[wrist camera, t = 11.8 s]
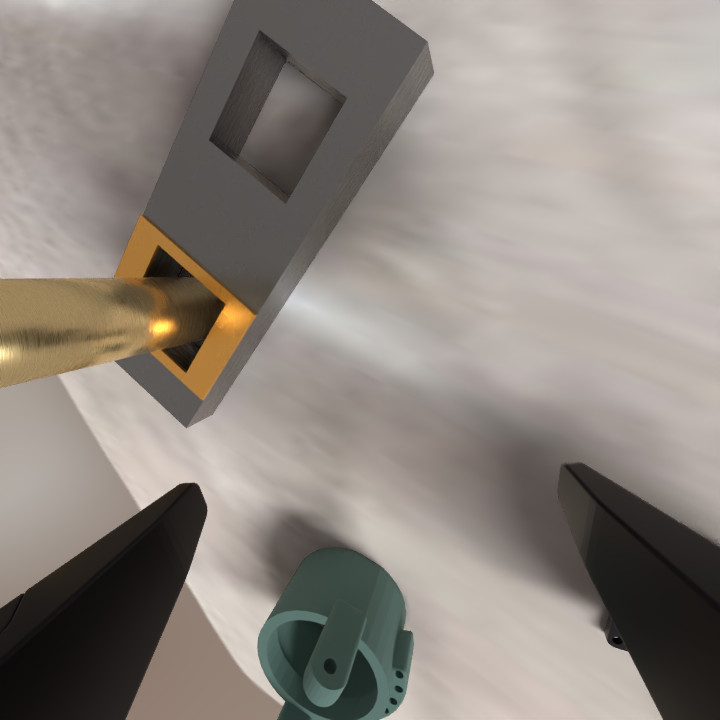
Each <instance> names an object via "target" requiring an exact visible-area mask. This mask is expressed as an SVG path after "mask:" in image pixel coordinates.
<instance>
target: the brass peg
mask: <svg viewBox="0 0 720 720" xmlns="http://www.w3.org/2000/svg"><path fill="white" fill-rule="evenodd" d="M225 305H226V304H225V303H224V302H223V301H221V300H220V299H219V298H218V297H217V296H216V295H215V294H213V293H212V292H211V291H210V290H209V289H208V288H207V287H206V286H204V285H203V284H202V283H201V282H200V281H199V280H198V279H196V278H195V277H149V278H45V279H0V388H2V387H7V386H11V385H15V384H19V383H23V382H27V381H31V380H35V379H40V378H44V377H48V376H53V375H57V374H61V373H65V372H69V371H74V370H78V369H82V368H86V367H90V366H95V365H99V364H103V363H107V362H111V361H116V360H120V359H124V358H128V357H132V356H137V355H141V354H145V353H149V352H153V351H157V350H162V349H166V348H170V347H174V346H178V345H183V344H187V343H191V342H195V341H199V340H204V339H206V338H207V336H208V334H209V332H210V331H211V329H212V327H213V326H214V324H215V322H216V320H217V319H218V317H219V315H220V313H221V312H222V310H223V308H224V306H225Z"/></svg>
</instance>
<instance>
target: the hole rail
mask: <svg viewBox="0 0 720 720" xmlns="http://www.w3.org/2000/svg"><path fill="white" fill-rule="evenodd" d="M286 60H287V61H288V62H289V63H291V64H292V65H293V66H295V67H296V68H297V69H298V70H300V71H301V72H302V73H304V74H305V75H306V76H307V77H309V78H310V79H311V80H313V81H314V82H315V83H316V84H318V85H319V86H320V87H321V88H323V89H324V90H325V91H327V92H328V93H329V94H330V95H332V96H333V97H334V98H336V99H337V100H338V101H339V102H341V103H342V104H343V106H342V108H341V110H340V111H339V113H338V115H337V117H336V118H335V120H334V122H333V124H332V125H331V127H330V129H329V130H328V132H327V134H326V136H325V137H324V139H323V141H322V143H321V144H320V146H319V148H318V149H317V151H316V153H315V155H314V156H313V158H312V160H311V162H310V163H309V165H308V167H307V168H306V170H305V172H304V174H303V175H302V177H301V179H300V181H299V182H298V184H297V186H296V187H295V189H294V191H293V193H292V194H291V196H290V197H288V196H287V195H286V194H285V193H283V192H282V191H281V190H280V189H279V188H277V187H276V186H275V185H274V184H273V183H271V182H270V181H269V180H268V179H267V178H265V177H264V176H263V175H262V174H260V173H259V172H258V171H257V170H256V169H254V168H253V167H252V166H251V165H250V164H248V163H247V162H246V161H245V160H244V159H242V158H241V157H240V156H239V153H240V151H241V149H242V147H243V145H244V143H245V141H246V139H247V137H248V135H249V133H250V131H251V129H252V127H253V125H254V123H255V121H256V119H257V117H258V115H259V113H260V111H261V109H262V107H263V105H264V103H265V101H266V99H267V97H268V95H269V93H270V91H271V89H272V87H273V85H274V83H275V81H276V79H277V77H278V75H279V73H280V71H281V69H282V67H283V65H284V63H285V61H286ZM433 74H434V70H433V66H432V61H431V56H430V51H429V46H428V42H427V41H426V40H425V39H423V38H422V37H421V36H419V35H418V34H417V33H415V32H414V31H412V30H411V29H410V28H408V27H407V26H406V25H404V24H403V23H402V22H400V21H399V20H398V19H396V18H395V17H393V16H392V15H391V14H389V13H388V12H387V11H385V10H384V9H383V8H381V7H380V6H379V5H377V4H376V3H375V2H373V1H372V0H234V3H233V5H232V7H231V10H230V12H229V15H228V17H227V19H226V22H225V24H224V26H223V29H222V31H221V33H220V36H219V38H218V40H217V43H216V45H215V48H214V50H213V52H212V55H211V57H210V59H209V62H208V64H207V66H206V69H205V71H204V73H203V76H202V78H201V80H200V83H199V85H198V88H197V90H196V92H195V95H194V97H193V99H192V102H191V104H190V106H189V109H188V111H187V113H186V116H185V118H184V121H183V123H182V125H181V128H180V130H179V132H178V135H177V137H176V139H175V142H174V144H173V146H172V149H171V151H170V153H169V156H168V158H167V161H166V163H165V165H164V168H163V170H162V172H161V175H160V177H159V179H158V182H157V184H156V186H155V189H154V191H153V193H152V196H151V198H150V201H149V203H148V205H147V208H146V210H145V212H144V215H140V217H139V219H138V221H137V224H136V226H135V228H134V231H133V233H132V236H131V238H130V240H129V243H128V245H127V247H126V250H125V252H124V255H123V257H122V259H121V262H120V264H119V266H118V269H117V271H116V274H115V276H114V278H149V277H178V275H179V273H180V271H181V269H182V267H184V268H185V269H186V270H187V271H188V272H190V273H191V274H192V275H193V276H194V277H195V278H196V279H198V280H199V281H200V282H201V283H202V284H203V285H204V286H206V287H207V288H208V289H209V290H210V291H211V292H212V293H213V294H215V295H216V296H217V297H218V298H219V299H220V300H221V301H223V302H224V303H225V304H226V305H225V306H224V308H223V310H222V312H221V313H220V315H219V317H218V319H217V320H216V322H215V324H214V326H213V327H212V329H211V331H210V332H209V334H208V336H207V338H206V339H205V341H204V343H203V345H202V346H201V348H200V349H199V348H198V347H197V346H196V345H195V344H193V343H192V342H191V343H187V344H183V345H178V346H174V347H170V348H166V349H162V350H157V351H153V352H149V353H145V354H141V355H137V356H132V357H128V358H124V359H120V360H116V361H115V362H116V363H117V364H118V365H119V366H120V367H122V368H123V369H124V370H125V371H126V372H127V373H128V374H129V375H130V376H131V377H132V378H133V379H134V380H135V381H137V382H138V383H139V384H140V385H141V386H142V387H143V388H144V389H145V390H146V391H147V392H148V393H149V394H150V395H151V396H153V397H154V398H155V399H156V400H157V401H158V402H159V403H160V404H161V405H162V406H163V407H164V408H165V409H166V410H167V411H169V412H170V413H171V414H172V415H173V416H174V417H175V418H176V419H177V420H178V421H179V422H180V423H181V424H182V425H184V426H185V427H186V428H188V427H190V426H192V425H193V424H195V423H197V422H199V421H201V420H203V419H205V418H207V417H209V416H210V415H212V414H213V413H214V411H215V410H216V408H217V407H218V405H219V404H220V402H221V401H222V399H223V398H224V396H225V394H226V393H227V391H228V390H229V388H230V387H231V385H232V384H233V382H234V381H235V379H236V378H237V376H238V374H239V373H240V371H241V370H242V368H243V367H244V365H245V364H246V362H247V361H248V359H249V358H250V356H251V354H252V353H253V351H254V350H255V348H256V347H257V345H258V344H259V342H260V341H261V339H262V338H263V336H264V334H265V333H266V331H267V330H268V328H269V327H270V325H271V324H272V322H273V321H274V319H275V318H276V316H277V314H278V313H279V311H280V310H281V308H282V307H283V305H284V304H285V302H286V301H287V299H288V298H289V296H290V294H291V293H292V291H293V290H294V288H295V287H296V285H297V284H298V282H299V281H300V279H301V278H302V276H303V274H304V273H305V271H306V270H307V268H308V267H309V265H310V264H311V262H312V261H313V259H314V258H315V256H316V254H317V253H318V251H319V250H320V248H321V247H322V245H323V244H324V242H325V241H326V239H327V238H328V236H329V234H330V233H331V231H332V230H333V228H334V227H335V225H336V224H337V222H338V221H339V219H340V218H341V216H342V214H343V213H344V211H345V210H346V208H347V207H348V205H349V204H350V202H351V201H352V199H353V197H354V196H355V194H356V193H357V191H358V190H359V188H360V187H361V185H362V184H363V182H364V181H365V179H366V177H367V176H368V174H369V173H370V171H371V170H372V168H373V167H374V165H375V164H376V162H377V161H378V159H379V157H380V156H381V154H382V153H383V151H384V150H385V148H386V147H387V145H388V144H389V142H390V141H391V139H392V137H393V136H394V134H395V133H396V131H397V130H398V128H399V127H400V125H401V124H402V122H403V121H404V119H405V117H406V116H407V114H408V113H409V111H410V110H411V108H412V107H413V105H414V104H415V102H416V101H417V99H418V97H419V96H420V94H421V93H422V91H423V90H424V88H425V87H426V85H427V84H428V82H429V81H430V79H431V77H432V76H433Z"/></svg>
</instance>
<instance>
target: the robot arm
mask: <svg viewBox="0 0 720 720" xmlns="http://www.w3.org/2000/svg"><path fill="white" fill-rule="evenodd" d="M558 497H559V501H560V503H561V506H562V509H563V511H564V514H565V516H566V519H567V521H568V524H569V527H570V529H571V532H572V534H573V537H574V540H575V542H576V545H577V547H578V550H579V552H580V555H581V557H582V560H583V562H584V565H585V567H586V569H587V571H588V573H589V575H590V577H591V579H592V581H593V583H594V585H595V587H596V589H597V591H598V593H599V595H600V597H601V599H602V601H603V603H604V605H605V607H606V609H607V611H608V613H609V615H610V616H609V619H608V622H607V625H606V628H605V636H606V639H607V641H608V643H609V644H610V645H611V646H613V647H615V648H618V649H621V650H625V651H628V652H629V654H630V656H631V658H632V660H633V662H634V664H635V665H636V667H637V669H638V671H639V673H640V675H641V677H642V679H643V681H644V683H645V685H646V687H647V689H648V691H649V693H650V695H651V697H652V699H653V701H654V703H655V705H656V707H657V709H658V711H659V712H660V714H661V716H662V718H663V720H720V547H719V546H718V545H716V544H714V543H713V542H711V541H709V540H708V539H706V538H704V537H703V536H701V535H700V534H698V533H696V532H695V531H693V530H691V529H690V528H688V527H686V526H685V525H683V524H682V523H680V522H678V521H677V520H675V519H673V518H672V517H670V516H668V515H667V514H665V513H664V512H662V511H660V510H659V509H657V508H655V507H654V506H652V505H650V504H649V503H647V502H646V501H644V500H642V499H641V498H639V497H637V496H636V495H634V494H633V493H631V492H629V491H628V490H626V489H624V488H623V487H621V486H619V485H618V484H616V483H615V482H613V481H611V480H610V479H608V478H606V477H605V476H603V475H601V474H600V473H598V472H597V471H595V470H593V469H592V468H590V467H588V466H587V465H585V464H583V463H580V462H574V463H564V464H562V465H561V468H560V475H559V483H558ZM206 516H207V504H206V502H205V499H204V497H203V494H202V492H201V489H200V487H199V485H198V484H197V483H182V484H179V485H178V486H176V487H175V488H173V489H172V490H171V491H169V492H168V493H166V494H165V495H163V496H162V497H160V498H159V499H158V500H156V501H155V502H153V503H152V504H150V505H149V506H147V507H146V508H145V509H143V510H142V511H140V512H139V513H137V514H136V515H134V516H133V517H132V518H130V519H129V520H128V521H126V522H124V523H123V524H121V525H120V526H119V527H117V528H116V529H114V530H113V531H111V532H110V533H109V534H107V535H106V536H104V537H103V538H101V539H100V540H98V541H97V542H96V543H94V544H93V545H91V546H90V547H88V548H87V549H85V550H84V551H83V552H81V553H80V554H78V555H77V556H75V557H74V558H72V559H71V560H70V561H68V562H67V563H65V564H64V565H62V566H61V567H60V568H58V569H57V570H55V571H54V572H52V573H51V574H49V575H48V576H47V577H45V578H44V579H42V580H41V581H39V582H38V583H36V584H35V585H34V586H32V587H31V588H29V589H28V590H27V591H26V592H25V594H20V595H19V596H18V597H16V598H15V599H13V600H12V601H10V602H9V603H8V604H6V605H5V606H3V607H2V608H0V720H125V719H126V717H127V715H128V712H129V710H130V708H131V705H132V703H133V701H134V698H135V696H136V694H137V692H138V689H139V687H140V685H141V682H142V680H143V677H144V675H145V673H146V670H147V668H148V666H149V664H150V661H151V659H152V657H153V654H154V652H155V650H156V647H157V645H158V642H159V640H160V638H161V636H162V633H163V631H164V629H165V626H166V624H167V622H168V619H169V617H170V614H171V612H172V610H173V608H174V605H175V602H176V601H177V598H178V596H179V594H180V591H181V589H182V587H183V584H184V582H185V579H186V577H187V574H188V571H189V569H190V566H191V563H192V560H193V557H194V554H195V550H196V547H197V544H198V541H199V538H200V535H201V532H202V529H203V526H204V523H205V519H206ZM614 637H618V638H614Z"/></svg>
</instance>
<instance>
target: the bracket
mask: <svg viewBox="0 0 720 720" xmlns="http://www.w3.org/2000/svg"><path fill="white" fill-rule="evenodd" d="M405 617H406V609H405V602H404V599H403V596H402V594H401V591H400V590H399V588H398V586H397V584H396V583H395V581H394V580H393V579H392V577H391V576H390V575H389V574H388V573H387V572H386V571H385V570H384V569H383V568H382V567H381V566H379V565H378V564H376V563H374V562H373V561H371V560H369V559H368V558H366V557H364V556H362V555H361V554H359V553H357V552H355V551H352V550H348V549H343V548H325V549H321V550H318V551H316V552H314V553H312V554H310V555H309V556H308V557H306V558H305V559H304V561H303V562H302V563H301V564H300V566H299V568H298V569H297V571H296V573H295V574H294V576H293V578H292V579H291V581H290V583H289V584H288V586H287V588H286V589H285V591H284V593H283V594H282V596H281V598H280V599H279V601H278V602H277V604H276V606H275V607H274V609H273V611H272V612H271V614H270V616H269V617H268V619H267V621H266V622H265V624H264V626H263V627H262V629H261V631H260V634H259V637H258V646H257V648H258V656H259V660H260V664H261V667H262V669H263V671H264V673H265V675H266V677H267V679H268V680H269V682H270V684H271V685H272V687H273V688H274V689H275V690H276V692H277V693H278V694H279V695H280V696H281V697H282V698H283V699H284V700H285V703H284V706H283V708H282V710H281V712H280V714H279V717H278V719H277V720H379V719H382V718H384V717H387V716H389V715H390V714H392V713H393V712H394V711H396V710H397V708H398V707H399V706H400V705H401V703H402V702H403V699H404V697H405V694H406V690H407V684H408V678H409V672H410V666H411V660H412V654H413V646H414V642H413V633H412V632H411V631H406V630H403V629H404V624H405ZM319 623H320V624H323V625H325V626H324V628H323V627H322V626H321V625H320V624H319Z"/></svg>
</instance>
